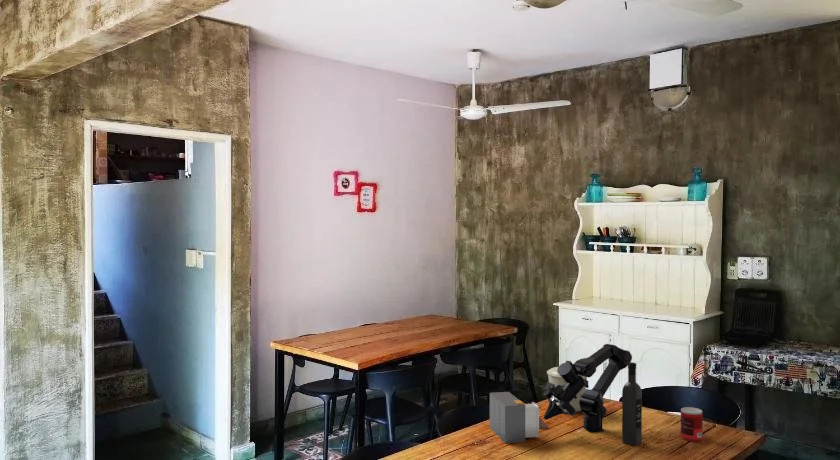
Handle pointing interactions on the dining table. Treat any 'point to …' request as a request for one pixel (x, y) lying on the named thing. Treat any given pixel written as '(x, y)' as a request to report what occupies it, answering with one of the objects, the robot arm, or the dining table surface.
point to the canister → (557, 379)
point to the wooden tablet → (542, 424)
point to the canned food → (691, 424)
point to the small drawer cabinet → (507, 417)
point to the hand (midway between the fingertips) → (544, 418)
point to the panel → (531, 420)
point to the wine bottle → (632, 409)
